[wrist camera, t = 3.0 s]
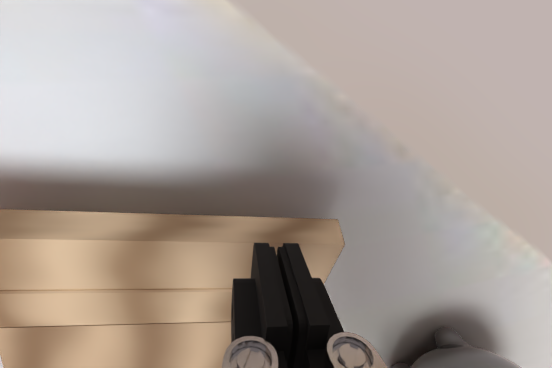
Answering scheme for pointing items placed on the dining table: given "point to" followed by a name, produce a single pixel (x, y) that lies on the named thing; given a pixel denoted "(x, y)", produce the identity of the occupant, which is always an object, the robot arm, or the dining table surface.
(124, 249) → the board
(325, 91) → the dining table surface
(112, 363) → the laid planks
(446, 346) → the piggy bank
